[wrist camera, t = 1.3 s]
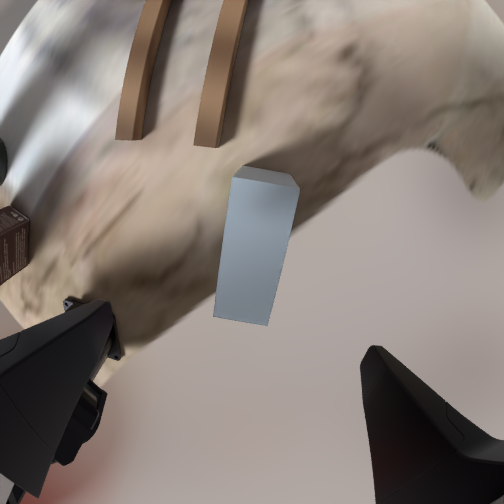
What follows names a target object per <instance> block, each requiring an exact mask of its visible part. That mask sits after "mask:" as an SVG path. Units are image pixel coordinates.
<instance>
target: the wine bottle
mask: <svg viewBox="0 0 504 504" xmlns="http://www.w3.org/2000/svg"><path fill="white" fill-rule="evenodd" d="M6 169H7V153H6V148H5V145H4V143H3V141H2V140H1V139H0V185H1V184H2V183H3V181H4V178H5V175H6Z"/></svg>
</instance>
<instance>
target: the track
mask: <svg viewBox="0 0 504 504" xmlns="http://www.w3.org/2000/svg"><path fill="white" fill-rule="evenodd" d="M171 1H172V0H146V1H145V4H144V7H143V10H142V13H141V16H140V19H139V22H138V26H137V29H136V33H135V36H134V40H133V43H132V47H131V51H130V55H129V60H128V64H127V68H126V73H125V78H124V83H123V88H122V94H121V100H120V106H119V113H118V120H117V128H116V136H115V140H141V139H142V131H143V124H144V117H145V110H146V104H147V98H148V92H149V87H150V82H151V77H152V72H153V67H154V63H155V58H156V54H157V50H158V46H159V42H160V38H161V34H162V31H163V27H164V24H165V20H166V17H167V14H168V10H169V7H170V4H171ZM248 2H249V0H224V1H223V4H222V8H221V12H220V15H219V19H218V23H217V27H216V31H215V35H214V39H213V43H212V48H211V52H210V57H209V61H208V66H207V71H206V76H205V81H204V86H203V91H202V96H201V102H200V107H199V113H198V119H197V125H196V132H195V138H194V145H195V146H203V147H212V148H218V147H219V145H220V139H221V133H222V127H223V121H224V115H225V109H226V104H227V99H228V93H229V88H230V83H231V78H232V73H233V68H234V63H235V58H236V53H237V49H238V44H239V40H240V35H241V31H242V26H243V22H244V18H245V14H246V10H247V6H248Z"/></svg>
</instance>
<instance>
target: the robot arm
mask: <svg viewBox="0 0 504 504" xmlns="http://www.w3.org/2000/svg"><path fill="white" fill-rule="evenodd" d="M63 305H64V310H65V312H64V313H63V314H60V315H58V316H56V317H53V318H51V319H49V320H46V321H44V322H41V323H39V324H37V325H34V326H32V327H30V328H27V329H25V330H23V331H21V332H18V333H16V334H13V335H11V336H9V337H6V338H4V339H1V340H0V504H19V503H20V502H21V500H22V498H23V496H24V494H25V493H26V491H27V492H28V493H30V494H31V495H33V496H35V497H36V498H39V496H40V493H41V490H42V487H43V484H44V481H45V478H46V476H47V473H48V470H49V467H50V465H51V464H53V463H56V462H58V463H60V464H61V465H63V466H65V465H67V464H69V463H71V462H72V461H74V459H75V457H76V454H77V453H78V450H79V449H80V447H81V445H82V444H83V443H85V442H87V441H88V440H89V439H90V438H91V437H92V436H93V435H94V434H95V432H96V430H97V428H98V426H99V424H100V420H101V416H102V412H103V408H104V405H105V401H106V397H107V393H106V392H105V391H104V390H102V389H101V388H99V387H98V386H97V385H96V384H95V383H94V382H93V380H94V378H95V377H96V375H97V373H98V372H99V370H100V368H101V367H102V365H103V363H104V362H105V360H106V358H107V357H108V358H111V359H114V360H117V361H119V360H120V359H121V357H122V356H121V351H120V346H119V340H118V334H117V328H116V321H115V316H114V315H113V314H112V309H111V303H110V302H109V301H107V300H104V299H97V300H94V301H92V302H89V303H87V304H82V303H79V302H76V301H73V300H70V299H67V298H66V299H65V300H64V301H63ZM360 372H361V384H362V398H363V407H364V412H365V419H366V425H367V432H368V438H369V445H370V452H371V461H372V469H373V478H374V489H375V500H376V504H504V440H499V439H496V438H493V437H491V436H490V435H489V434H487V433H486V432H485V431H483V430H482V429H480V428H479V427H478V426H476V425H475V424H474V423H472V422H471V421H470V420H468V419H467V418H466V417H464V416H463V415H461V414H460V413H459V412H458V411H457V410H456V409H454V408H453V407H452V406H451V405H450V404H449V403H448V402H445V400H444V399H443V398H442V397H441V396H439V395H438V394H437V393H436V392H435V391H434V390H432V389H431V388H430V387H429V386H428V385H427V384H426V383H424V382H423V381H422V380H421V379H420V378H418V377H417V376H416V375H415V374H414V373H413V372H411V371H410V370H409V369H408V368H407V367H406V366H405V365H403V364H402V363H401V362H400V361H399V360H397V359H396V358H395V357H394V356H393V355H392V354H390V353H389V352H388V351H387V350H386V349H384V348H383V347H382V346H375V345H372V346H370V347H369V349H368V350H367V352H366V354H365V356H364V358H363V360H362V361H361V364H360Z"/></svg>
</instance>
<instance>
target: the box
mask: <svg viewBox="0 0 504 504" xmlns="http://www.w3.org/2000/svg"><path fill="white" fill-rule="evenodd" d="M28 231H29V219H28V218H27V217H26V216H24V215H23V214H21V213H20V212H18V211H17V210H15V209H14V208H12V207H11V206H7V207H5V208H2V209H0V285H2V284H3V283H4V282H6V281H7V280H8V279H10V278H11V277H12V276H14V275H15V274H16V273H18V272H19V271H21V270H22V269H23V268H25V267H26V266H28Z"/></svg>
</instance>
